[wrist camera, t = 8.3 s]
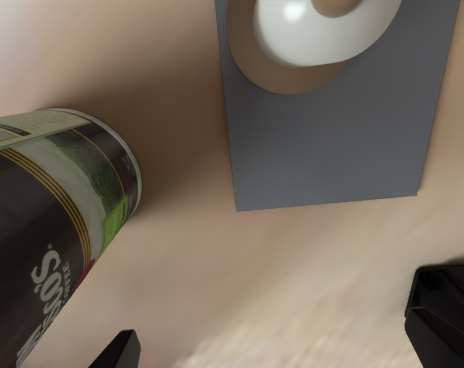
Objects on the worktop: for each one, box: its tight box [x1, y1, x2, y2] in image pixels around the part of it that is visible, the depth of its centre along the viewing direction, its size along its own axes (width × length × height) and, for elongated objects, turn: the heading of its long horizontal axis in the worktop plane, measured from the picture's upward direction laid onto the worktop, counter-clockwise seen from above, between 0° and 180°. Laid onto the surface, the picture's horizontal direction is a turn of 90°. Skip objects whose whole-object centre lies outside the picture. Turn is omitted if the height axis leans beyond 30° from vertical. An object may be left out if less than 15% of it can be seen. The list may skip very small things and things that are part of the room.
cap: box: [253, 0, 402, 68], centre depth 10 cm, size 4×4×6 cm
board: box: [215, 0, 460, 212], centre depth 16 cm, size 16×14×1 cm
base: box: [226, 0, 350, 95], centre depth 13 cm, size 7×7×2 cm
